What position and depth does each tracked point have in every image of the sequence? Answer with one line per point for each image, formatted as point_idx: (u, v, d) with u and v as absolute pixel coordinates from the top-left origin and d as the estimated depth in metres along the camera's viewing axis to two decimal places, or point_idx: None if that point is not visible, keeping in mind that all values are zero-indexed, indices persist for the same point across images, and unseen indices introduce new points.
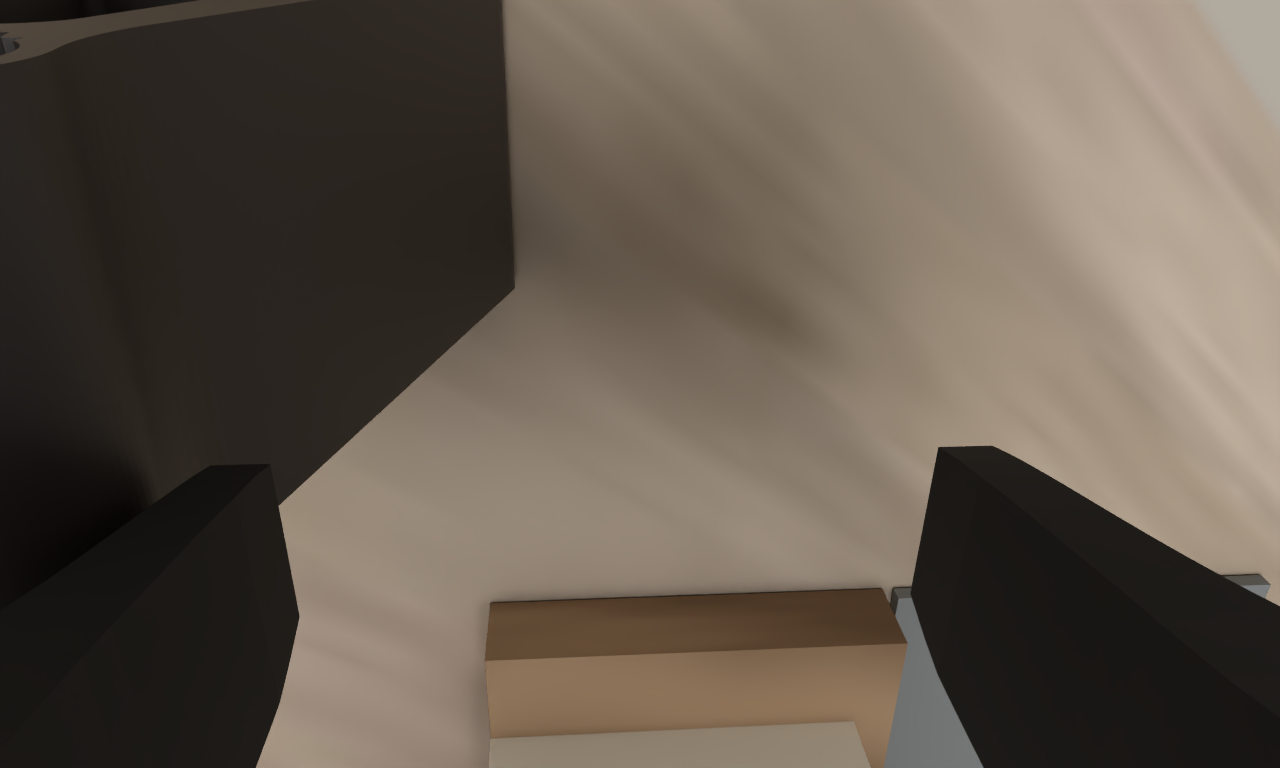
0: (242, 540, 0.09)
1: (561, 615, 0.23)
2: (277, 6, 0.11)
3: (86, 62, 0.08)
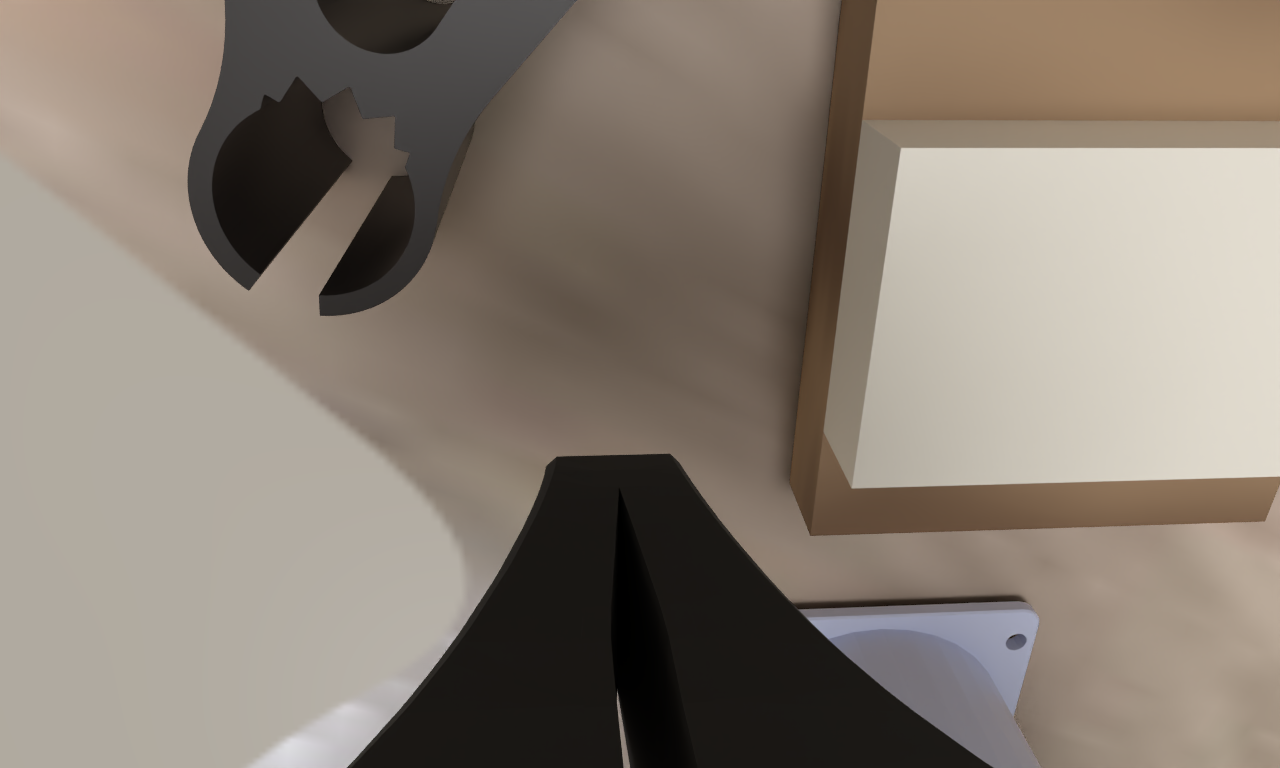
0: (617, 529, 0.09)
1: None
2: None
3: (449, 172, 0.12)
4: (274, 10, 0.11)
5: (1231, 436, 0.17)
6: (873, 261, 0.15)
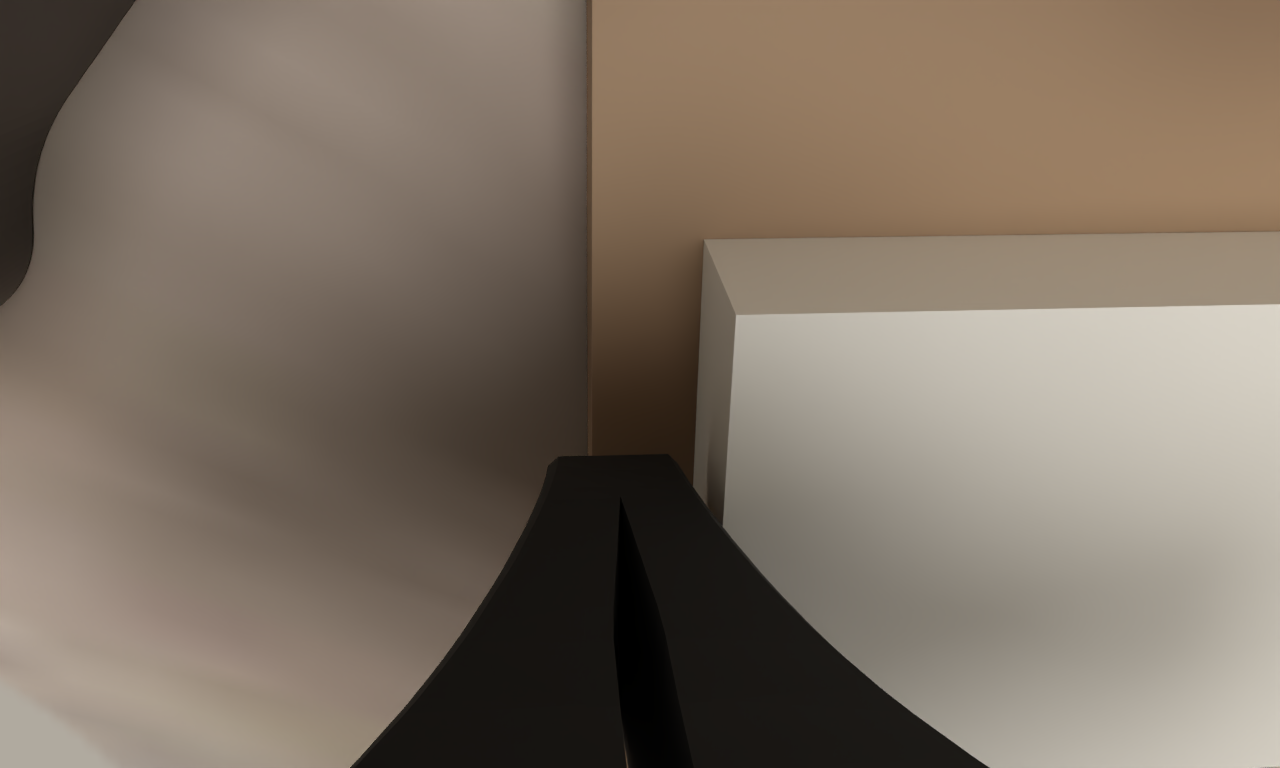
0: None
1: None
2: None
3: None
4: None
5: None
6: (716, 475, 0.09)
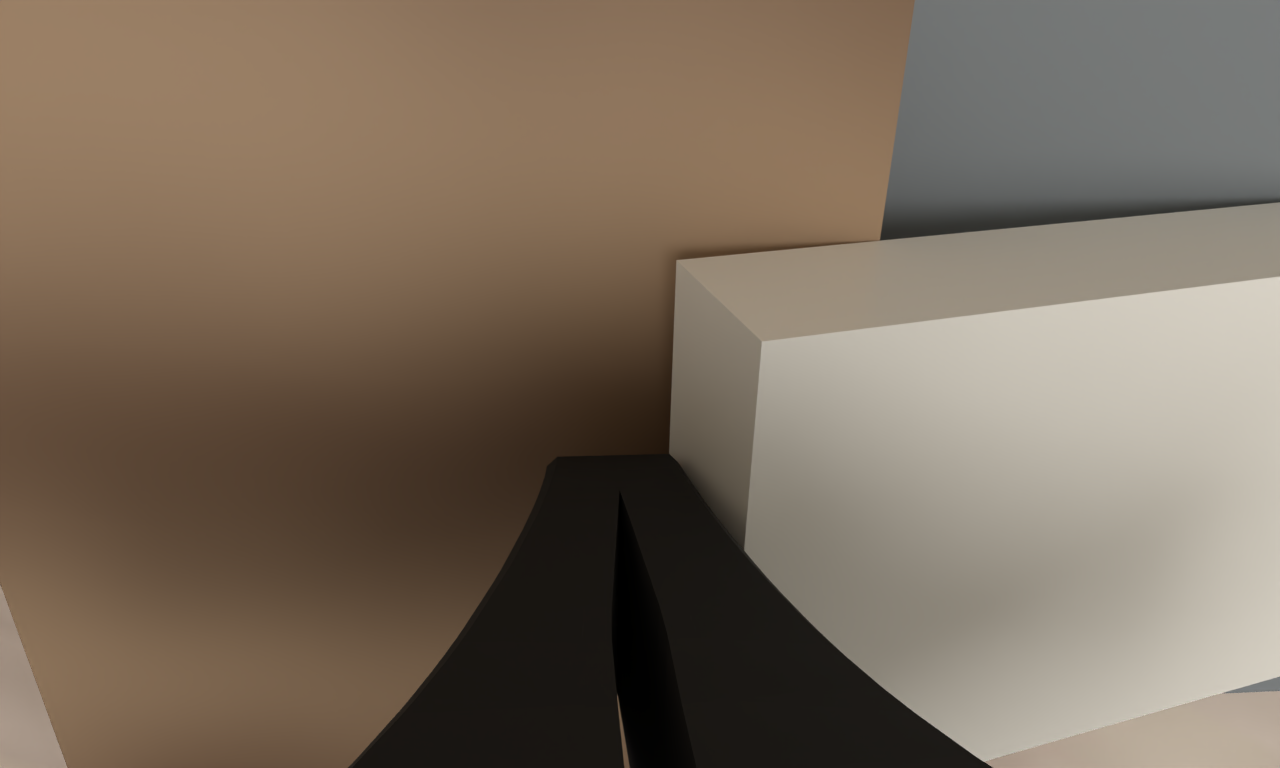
0: (618, 528, 0.09)
1: None
2: None
3: None
4: None
5: (1221, 648, 0.12)
6: (723, 506, 0.09)
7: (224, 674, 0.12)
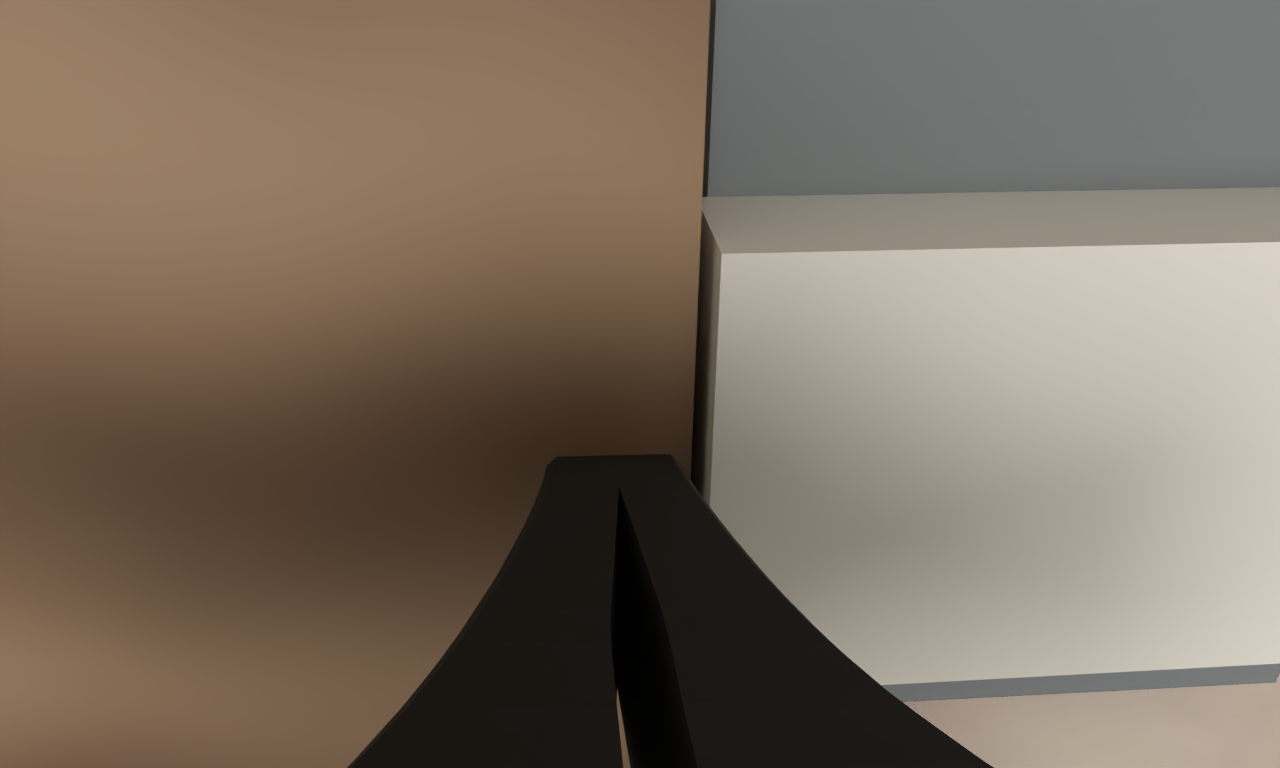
0: (617, 528, 0.09)
1: None
2: None
3: None
4: None
5: (1221, 617, 0.12)
6: (706, 400, 0.11)
7: (71, 681, 0.12)
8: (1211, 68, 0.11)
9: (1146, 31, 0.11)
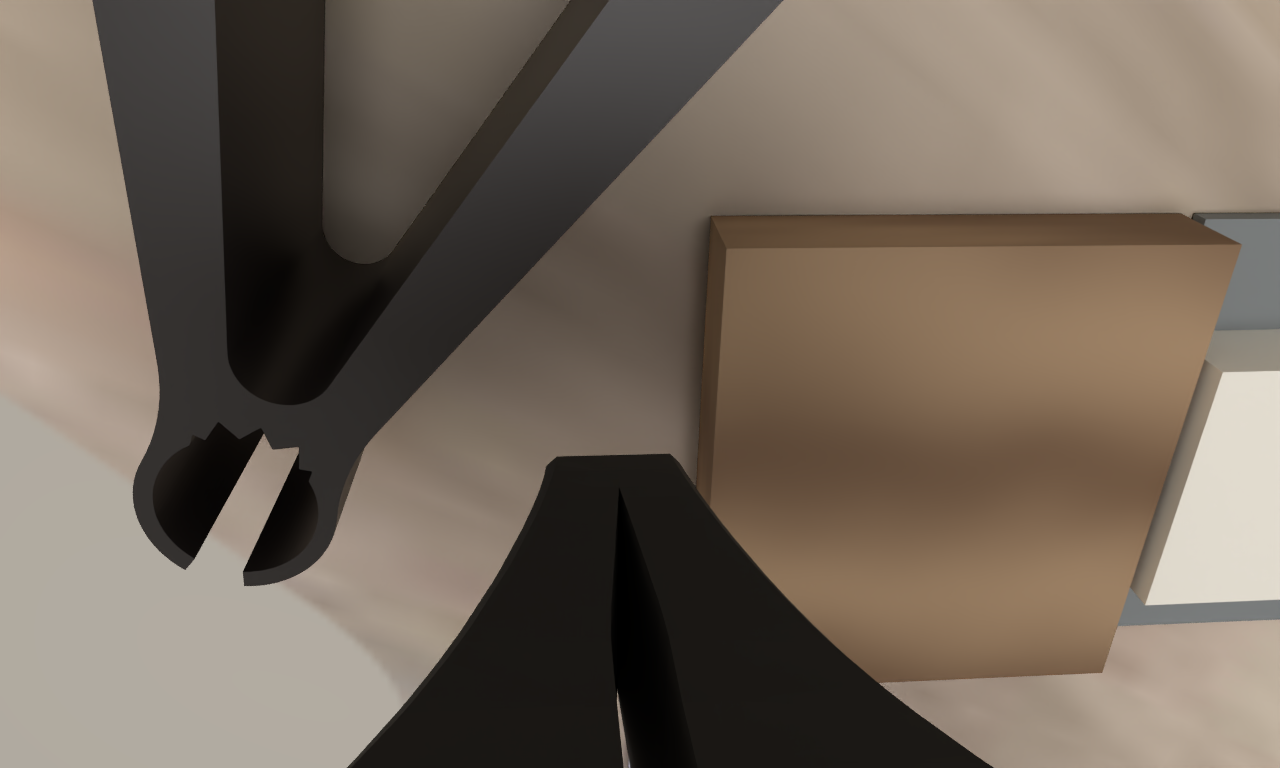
0: (617, 529, 0.09)
1: (802, 223, 0.19)
2: None
3: (346, 480, 0.14)
4: (198, 378, 0.13)
5: None
6: (1180, 442, 0.20)
7: (804, 594, 0.21)
8: None
9: None
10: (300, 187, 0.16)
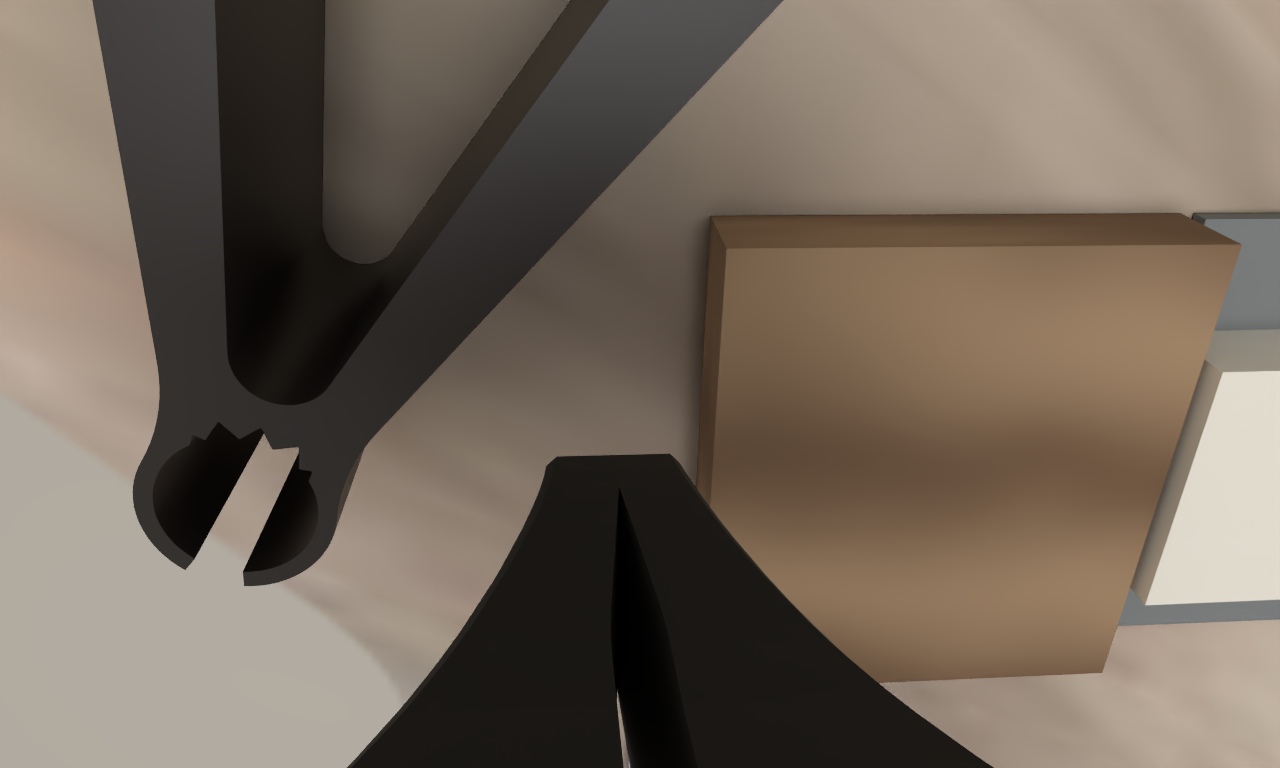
0: (617, 529, 0.09)
1: (802, 223, 0.19)
2: None
3: (346, 480, 0.14)
4: (198, 378, 0.13)
5: None
6: (1180, 442, 0.20)
7: (804, 594, 0.21)
8: None
9: None
10: (300, 187, 0.16)
